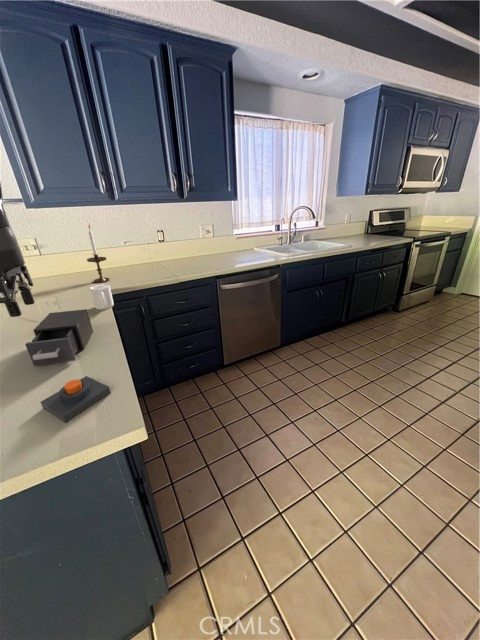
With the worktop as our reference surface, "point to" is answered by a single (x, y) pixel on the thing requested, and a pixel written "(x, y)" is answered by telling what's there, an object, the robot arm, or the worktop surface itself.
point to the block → (75, 399)
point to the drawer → (53, 346)
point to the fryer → (69, 324)
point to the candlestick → (96, 260)
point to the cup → (102, 296)
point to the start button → (73, 386)
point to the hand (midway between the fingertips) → (23, 309)
